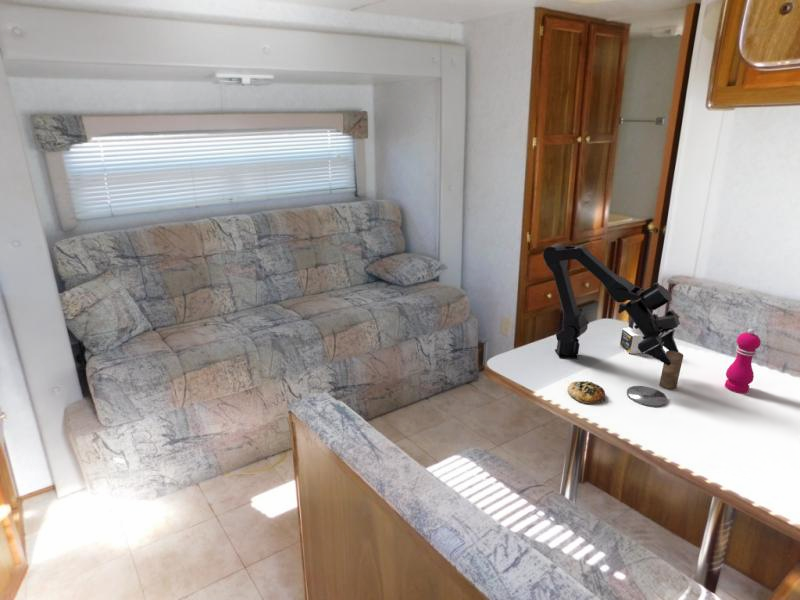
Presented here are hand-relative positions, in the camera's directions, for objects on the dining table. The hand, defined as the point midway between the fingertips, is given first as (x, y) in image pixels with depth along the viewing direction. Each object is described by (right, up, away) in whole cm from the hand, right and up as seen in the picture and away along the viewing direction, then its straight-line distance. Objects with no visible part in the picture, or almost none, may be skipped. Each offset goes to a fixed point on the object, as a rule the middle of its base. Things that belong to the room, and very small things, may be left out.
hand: (673, 359), depth 162 cm
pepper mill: (+21, -9, +3) cm, 23 cm away
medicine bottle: (0, 0, +29) cm, 29 cm away
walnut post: (0, -9, +3) cm, 9 cm away
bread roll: (-28, -11, -3) cm, 30 cm away
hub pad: (-10, -11, -4) cm, 15 cm away
